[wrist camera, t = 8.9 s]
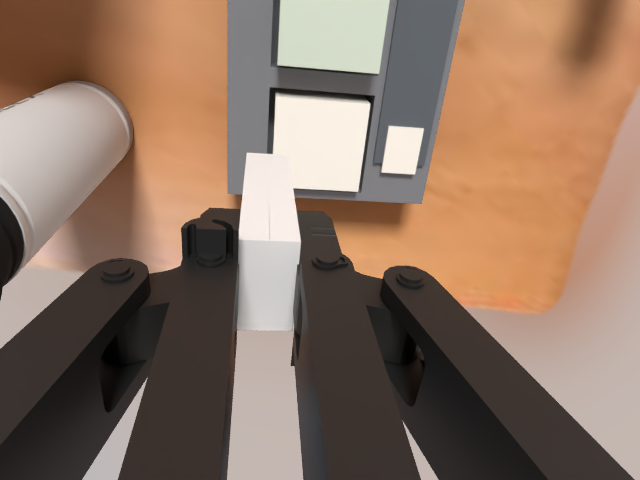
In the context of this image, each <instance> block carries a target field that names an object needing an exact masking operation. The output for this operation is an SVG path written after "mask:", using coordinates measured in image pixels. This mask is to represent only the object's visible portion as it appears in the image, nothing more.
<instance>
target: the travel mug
mask: <svg viewBox="0 0 640 480" xmlns="http://www.w3.org/2000/svg"><path fill="white" fill-rule="evenodd" d="M132 140H133V125H132V122H131V118H130V116H129V114H128V112H127V109H126V108H125V107H124V105H123V104H122V102H121V101H120V100H119V99H118V98H117V97H116V96H115V95H114V94H112V93H111V92H110V91H108V90H107V89H105V88H103V87H101V86H99V85H97V84H94V83H91V82H88V81H79V80H76V81H67V82H64V83H61V84H58V85H56V86H54V87H52V88H49V89H47V90H44V91H42V92H40V93H37V94H35V95H33V96H30V97H28V98H26V99H23V100H21V101H19V102H16V103H14V104H12V105H9V106H7V107H5V108H2V109H0V299H1V295H2V287H3V286H4V285H6V284H7V283H8V282H9V281H10V280H12V279H13V278H14V277H15V276H16V275H17V274H18V273H19V272H20V270H21V269H22V268H23V267H24V266H25V265H26V264H27V263H28V262H29V261H30V260H31V259H32V257H33V256H34V255H35V254H36V253H37V252H38V251H39V250H40V249H41V248H42V246H43V245H44V244H45V243H46V242H47V241H48V240H49V239H50V238H51V237H52V236H53V234H54V233H55V232H56V231H57V230H58V229H59V228H60V227H61V226H62V225H63V223H64V222H65V221H66V220H67V219H68V218H69V217H70V216H71V215H72V214H73V213H74V211H75V210H76V209H77V208H78V207H79V206H80V205H81V204H82V203H83V202H84V201H85V199H86V198H87V197H88V196H89V195H90V194H91V193H92V192H93V191H94V190H95V188H96V187H97V186H98V185H99V184H100V183H101V182H102V181H103V180H104V179H105V178H106V176H107V175H108V174H109V173H110V172H111V171H112V170H113V169H114V168H115V167H116V165H117V164H118V163H119V162H120V161H121V160H122V159H123V158H124V157H125V155H126V154H127V153H128V151H129V149H130V147H131V144H132Z"/></svg>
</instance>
